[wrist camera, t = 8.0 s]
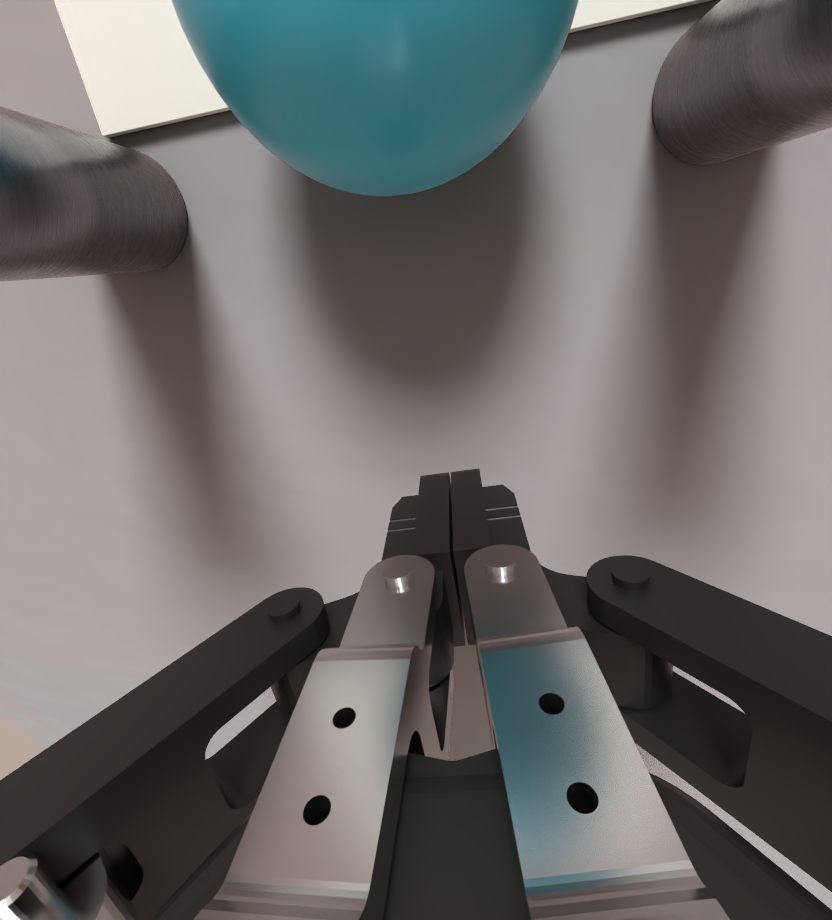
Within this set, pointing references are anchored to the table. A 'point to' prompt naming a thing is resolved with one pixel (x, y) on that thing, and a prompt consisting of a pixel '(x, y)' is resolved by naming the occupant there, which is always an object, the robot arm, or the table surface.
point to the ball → (378, 80)
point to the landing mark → (176, 67)
